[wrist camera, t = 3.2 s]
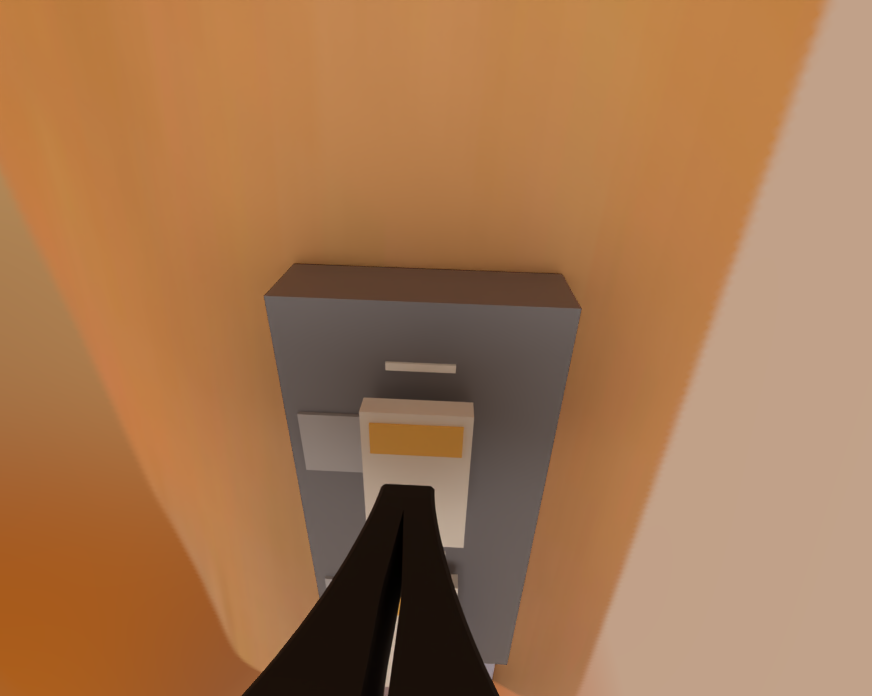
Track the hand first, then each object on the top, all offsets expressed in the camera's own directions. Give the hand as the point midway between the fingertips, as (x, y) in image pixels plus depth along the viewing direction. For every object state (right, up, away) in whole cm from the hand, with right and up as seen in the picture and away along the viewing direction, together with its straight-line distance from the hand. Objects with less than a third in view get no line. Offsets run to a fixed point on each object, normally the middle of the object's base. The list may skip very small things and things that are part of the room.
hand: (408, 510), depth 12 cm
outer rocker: (0, 0, +4) cm, 4 cm away
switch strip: (0, -2, +10) cm, 10 cm away
